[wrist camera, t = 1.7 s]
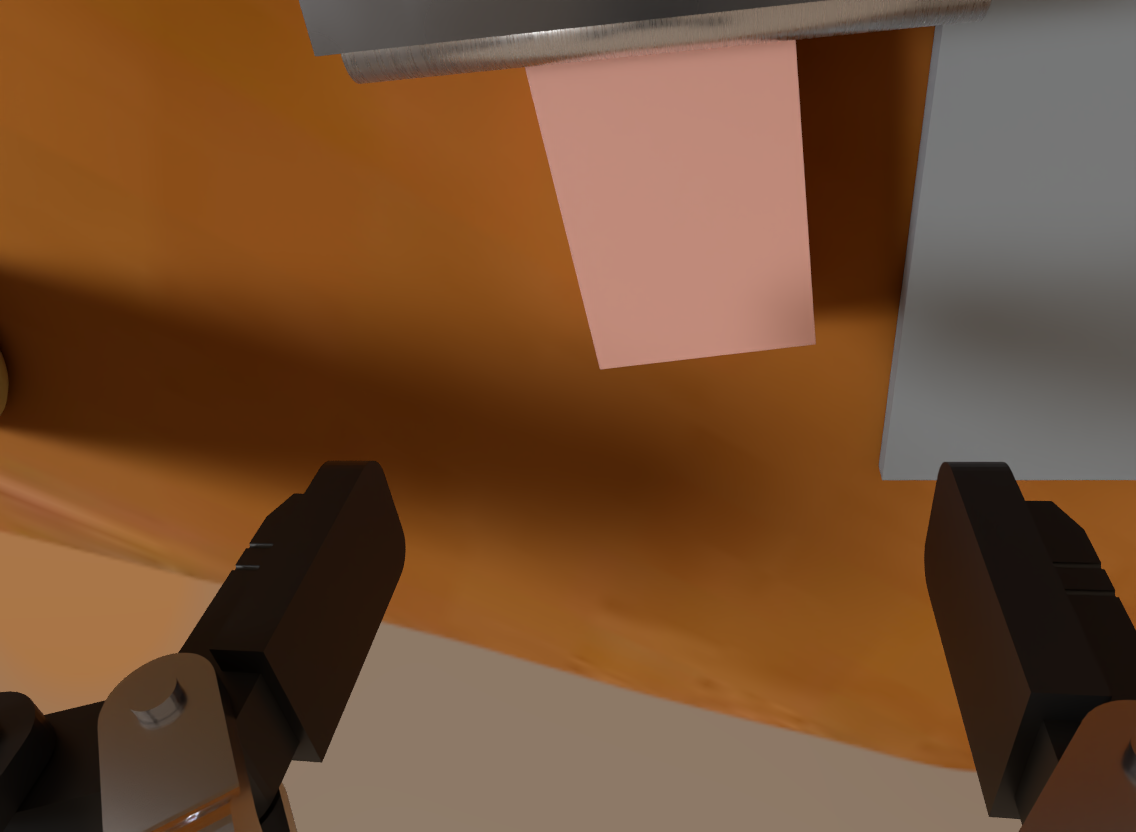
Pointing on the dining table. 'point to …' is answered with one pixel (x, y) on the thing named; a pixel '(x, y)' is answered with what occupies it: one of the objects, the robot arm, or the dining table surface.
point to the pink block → (682, 199)
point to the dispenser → (584, 29)
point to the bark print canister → (3, 384)
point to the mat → (1022, 250)
